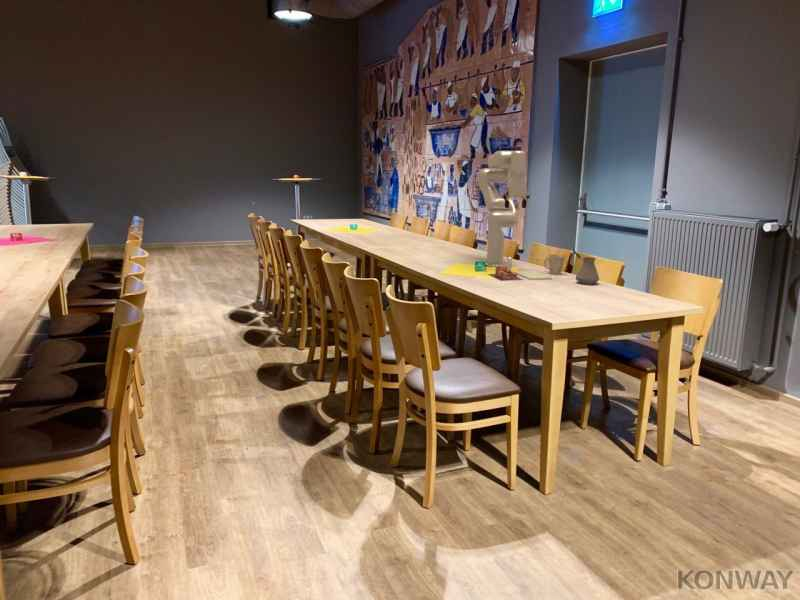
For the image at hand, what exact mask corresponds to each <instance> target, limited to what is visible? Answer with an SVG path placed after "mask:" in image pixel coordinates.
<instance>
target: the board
mask: <svg viewBox="0 0 800 600" xmlns="http://www.w3.org/2000/svg"><path fill="white" fill-rule="evenodd" d="M512 272H514V273H516V274H517V276H519V277H520V278H522V279H526V280H528V281H548V280H549V281H552V278H553V277H552V276H548V275H546V274H543V273H541V272H539V271H535V270H517V271H516V270H515V271H514V270H513V271H512Z"/></svg>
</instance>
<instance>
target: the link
mask: <svg viewBox="0 0 800 600" xmlns="http://www.w3.org/2000/svg"><path fill="white" fill-rule="evenodd" d="M494 274H495V275H497V276H499V277H501V278H503V279H505V280H509V281H518V280H517V277H518V275H517V274H516V273H514V272H513V271H512V270H511V274H508V273H507V264H506V265H496V267H495V273H494Z"/></svg>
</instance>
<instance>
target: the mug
mask: <svg viewBox="0 0 800 600" xmlns="http://www.w3.org/2000/svg"><path fill="white" fill-rule="evenodd" d="M547 261H548V266H547V264H546V263H547ZM564 261H565V255H562V254H548V256H547V257H545V259H544V261H543V266H544V267H545V268H546V270H549V271H548V272H549V274H550V275H556V276H557V275H559V276H560V275H562V271H563V267H564V266H563V265H564Z"/></svg>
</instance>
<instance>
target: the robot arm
mask: <svg viewBox="0 0 800 600" xmlns="http://www.w3.org/2000/svg"><path fill="white" fill-rule="evenodd" d="M487 165H488V166H489V167H486V168H485V167H484V168H481V169H480V170H478V172H477V176H476V178H477V180H476V181H477V186H478V187H479V189H480V191H481V194H482V195H483V199H484V203H485V206H486V209H487V211H488V214H487V216H486V219H487V250H486V261H485V262H486V263H487V266H486V267H490V268H496V265H506V266H507V264H506V263H505V262H504V257H505V256H504V253H505V239H506V238H505V233H504V230H502V229H503V228H515V227H516V226H517V225H518V222H519V217H518V213H517V209H516V206H515V202H514V200H513V198H521V199H522V201H521V208H522V209H526V207H527V201H528V199H530V197H531V195H532V191H531V190H528V189H527V180H526V178H525V177H526V176H527V175H528V174H527V172H526V171H525V169H526V152H525V151H524V150H497V151H495V152H494V153H493V154H491V155H489V156H488V158H487ZM503 183H506V185H505V189H504V190H502V191H500V195H499V193H498V189H497V187H495V186H494V185H493V184H503ZM512 197H513V198H512Z"/></svg>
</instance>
